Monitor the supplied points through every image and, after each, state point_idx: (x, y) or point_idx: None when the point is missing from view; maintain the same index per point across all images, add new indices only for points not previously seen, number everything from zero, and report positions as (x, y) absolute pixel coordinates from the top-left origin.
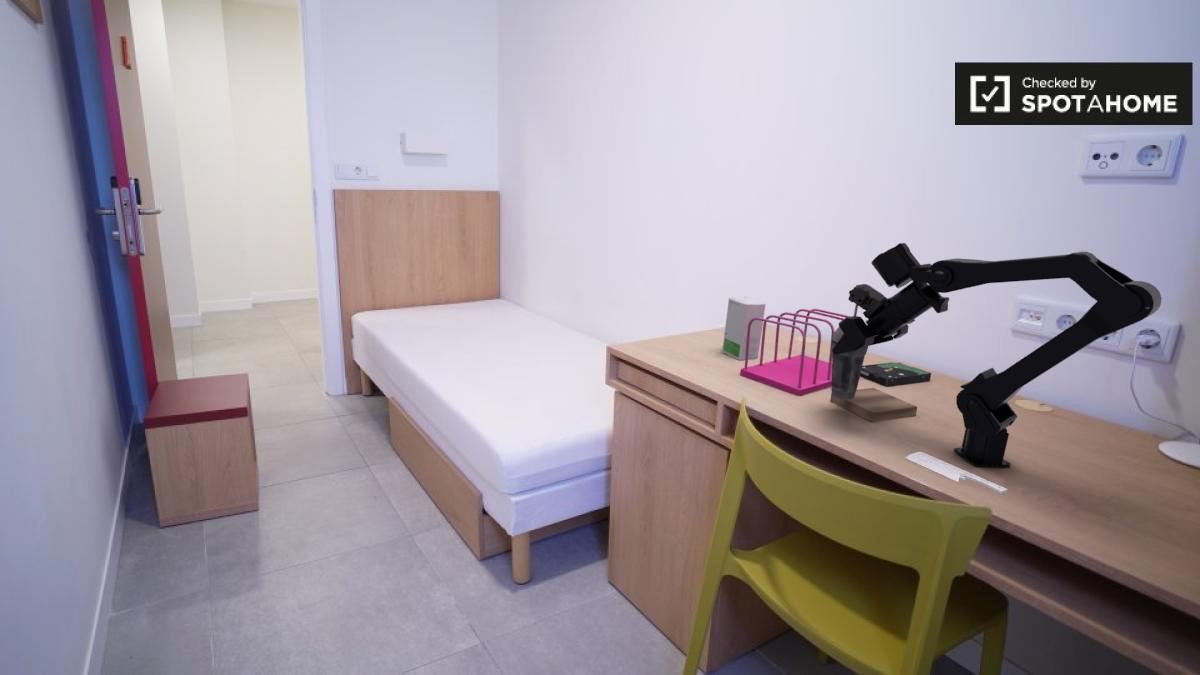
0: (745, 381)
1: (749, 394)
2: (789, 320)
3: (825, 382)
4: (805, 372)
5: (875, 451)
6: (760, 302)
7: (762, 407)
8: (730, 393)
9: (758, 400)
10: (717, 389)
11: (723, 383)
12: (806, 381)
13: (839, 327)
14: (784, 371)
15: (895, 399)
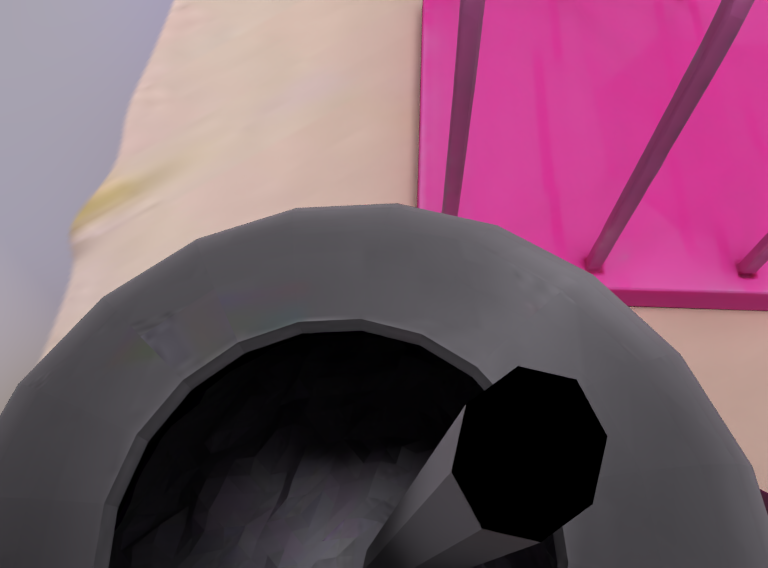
0: (372, 60)
1: (226, 160)
2: None
3: (678, 289)
4: (702, 143)
5: None
6: None
7: (104, 289)
8: (169, 114)
9: (183, 225)
10: (172, 63)
11: (264, 34)
12: (576, 224)
13: (131, 281)
14: (599, 85)
15: None
